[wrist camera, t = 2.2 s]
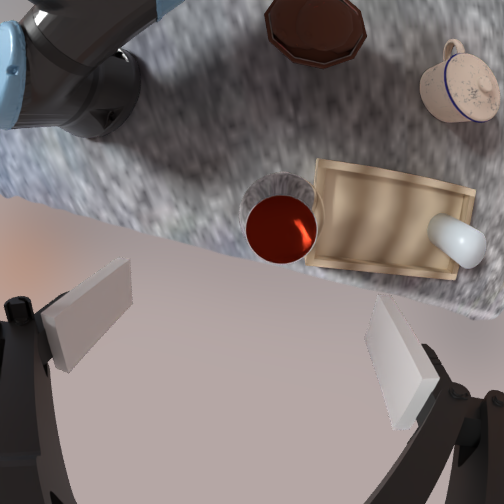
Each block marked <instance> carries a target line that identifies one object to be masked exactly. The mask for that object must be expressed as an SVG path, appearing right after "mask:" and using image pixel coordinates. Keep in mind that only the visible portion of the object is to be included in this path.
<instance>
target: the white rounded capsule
mask: <svg viewBox="0 0 504 504" xmlns="http://www.w3.org/2000/svg"><path fill="white" fill-rule="evenodd" d="M427 234H428V238H429V240H430V242H431V243H432V244H434V245H435V246H436V247H438V248H439V249H440V250H442V251H443V252H444V253H445V254H447V255H448V256H449V257H451V258H452V259H453V260H454V261H456V262H457V263H458V264H459V265H461V266H462V267H463V268H467V269H470V268H473V267H475V266H477V265H478V264H479V263H480V262H481V260H482V259H483V257H484V255H485V252H486V239H485V236H484V235H483V233H482V232H480V231H479V230H477V229H475V228H473V227H471V226H469V225H467V224H466V223H464V222H462V221H460V220H458V219H456V218H454V217H452V216H450V215H448V214H446V213H439V214H437V215H435V216H434V217H433V218H432V219H431V220H430V222H429V224H428V228H427Z"/></svg>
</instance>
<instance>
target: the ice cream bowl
mask: <svg viewBox="0 0 504 504" xmlns="http://www.w3.org/2000/svg"><path fill="white" fill-rule="evenodd" d="M264 16H265V22H266V28H267V33H268V39H269V41H270V42H271V43H272V44H273V45H274V46H275V47H276V48H277V49H279V50H280V51H281V52H282V53H283V54H284V55H285V56H286V57H287V58H288V59H290V60H291V61H292V62H293V63H297V64H302V65H307V66H311V67H316V68H320V69H325V68H328V67H330V66H333V65H336V64H339V63H342V62H345V61H348V60H351V59H354V57H355V56H356V54H357V52H358V51H359V49H360V47H361V46H362V44H363V42H364V41H365V39H366V37H367V34H366V30H365V26H364V22H363V18H362V14H361V11H360V10H359V9H358V8H357V7H356V6H355V5H354V4H352V3H351V2H350V1H349V0H274V1H273V2H272V4H271V5H270V6H269V8H268V9H267V11H266V12H265V14H264Z"/></svg>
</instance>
